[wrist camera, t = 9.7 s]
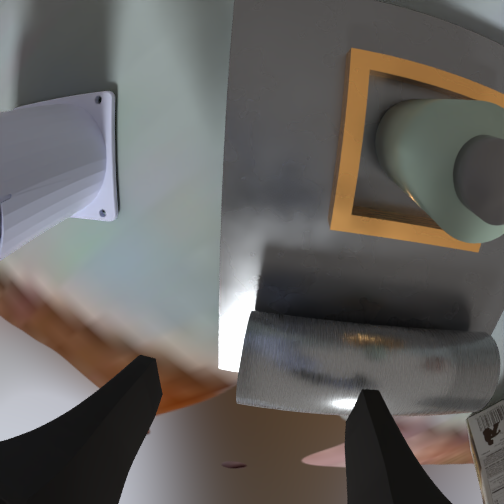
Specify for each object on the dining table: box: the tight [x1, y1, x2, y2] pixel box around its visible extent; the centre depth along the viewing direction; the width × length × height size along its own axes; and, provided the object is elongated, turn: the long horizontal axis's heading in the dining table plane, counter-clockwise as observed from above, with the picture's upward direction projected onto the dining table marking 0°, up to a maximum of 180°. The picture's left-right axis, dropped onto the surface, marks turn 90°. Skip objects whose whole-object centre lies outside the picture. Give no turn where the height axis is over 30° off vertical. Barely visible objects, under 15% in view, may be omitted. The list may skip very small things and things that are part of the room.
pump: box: [375, 99, 504, 243], centre depth 9 cm, size 4×4×7 cm
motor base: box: [219, 0, 504, 416], centre depth 13 cm, size 18×22×7 cm
